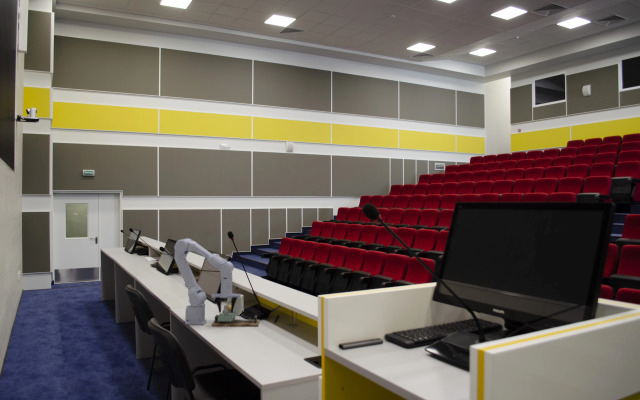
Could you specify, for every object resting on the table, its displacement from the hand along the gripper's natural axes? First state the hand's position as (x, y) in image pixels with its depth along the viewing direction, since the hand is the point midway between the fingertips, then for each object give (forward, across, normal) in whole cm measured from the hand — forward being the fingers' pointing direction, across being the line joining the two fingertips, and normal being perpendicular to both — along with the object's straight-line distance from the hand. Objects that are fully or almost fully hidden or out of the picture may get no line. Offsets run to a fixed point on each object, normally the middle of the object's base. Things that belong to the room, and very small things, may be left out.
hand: (226, 312), depth 234 cm
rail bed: (+6, +5, 0) cm, 8 cm away
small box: (+6, +2, +20) cm, 21 cm away
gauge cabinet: (+6, 0, +9) cm, 11 cm away
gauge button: (+1, 0, +9) cm, 9 cm away
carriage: (+4, 0, 0) cm, 4 cm away
